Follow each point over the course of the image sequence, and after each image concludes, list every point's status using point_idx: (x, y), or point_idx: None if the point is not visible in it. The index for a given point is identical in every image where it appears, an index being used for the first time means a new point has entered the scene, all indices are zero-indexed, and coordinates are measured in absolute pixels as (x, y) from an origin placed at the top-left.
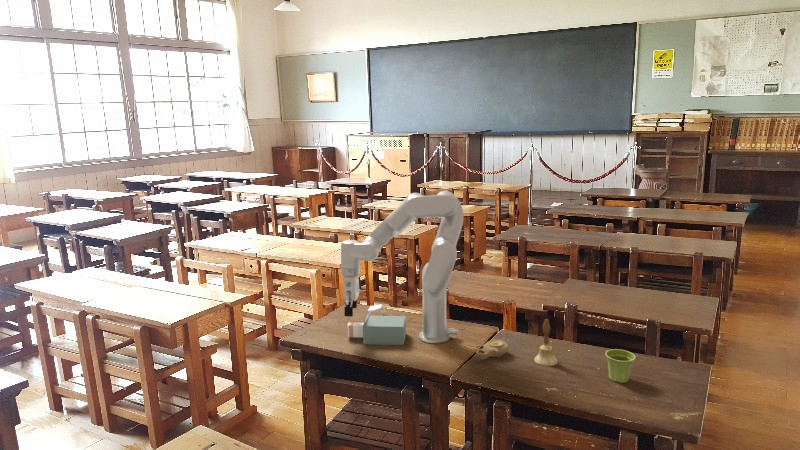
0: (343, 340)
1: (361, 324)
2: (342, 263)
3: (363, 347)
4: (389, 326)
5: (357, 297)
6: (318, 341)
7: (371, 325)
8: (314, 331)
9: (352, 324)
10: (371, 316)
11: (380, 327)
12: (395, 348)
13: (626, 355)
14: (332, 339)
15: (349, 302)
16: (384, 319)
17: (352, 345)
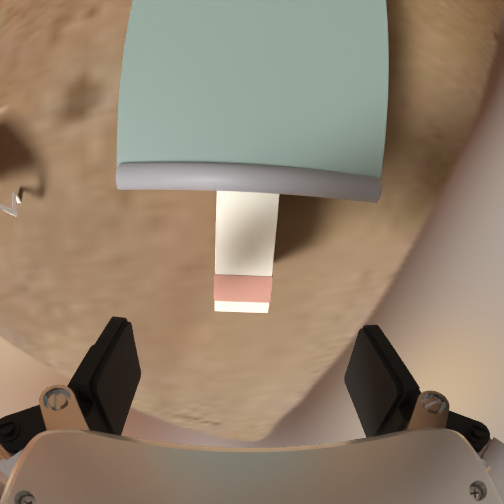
0: (273, 287)
1: (253, 215)
2: None
3: None
4: (382, 2)
5: (286, 457)
6: (278, 376)
7: (368, 129)
8: (174, 397)
9: (254, 282)
10: (137, 145)
11: (384, 63)
12: None
13: None
14: (258, 334)
15: (489, 439)
16: (221, 21)
17: (341, 235)
